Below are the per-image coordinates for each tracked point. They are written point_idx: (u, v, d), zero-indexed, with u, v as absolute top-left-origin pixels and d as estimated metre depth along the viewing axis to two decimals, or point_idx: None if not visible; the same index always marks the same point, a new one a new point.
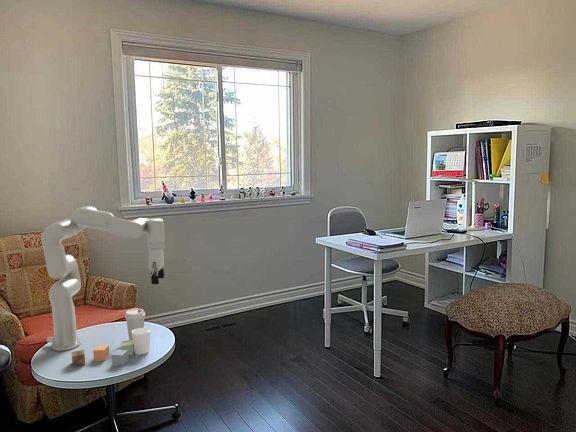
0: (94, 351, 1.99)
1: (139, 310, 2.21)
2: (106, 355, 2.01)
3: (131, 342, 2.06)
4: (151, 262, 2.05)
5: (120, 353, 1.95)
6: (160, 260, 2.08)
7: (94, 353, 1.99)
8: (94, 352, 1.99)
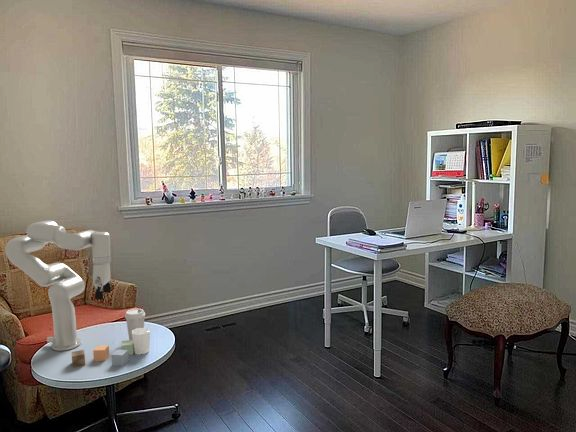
0: (94, 351, 1.99)
1: (139, 310, 2.21)
2: (106, 355, 2.01)
3: (131, 342, 2.06)
4: (95, 277, 2.00)
5: (120, 353, 1.95)
6: (105, 275, 2.02)
7: (94, 353, 1.99)
8: (94, 352, 1.99)
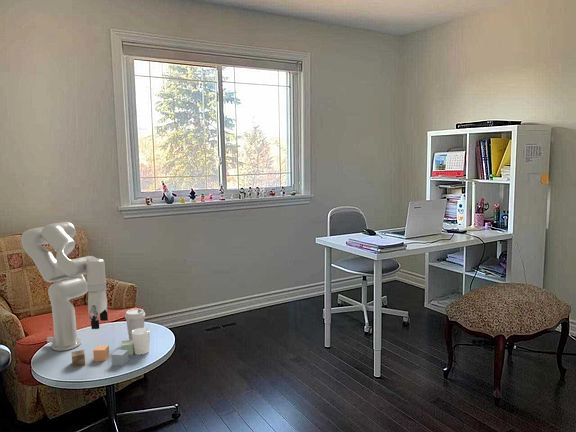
0: (94, 351, 1.99)
1: (139, 310, 2.21)
2: (106, 355, 2.01)
3: (131, 342, 2.06)
4: (90, 306, 1.93)
5: (120, 353, 1.95)
6: (101, 303, 1.95)
7: (94, 353, 1.99)
8: (94, 352, 1.99)
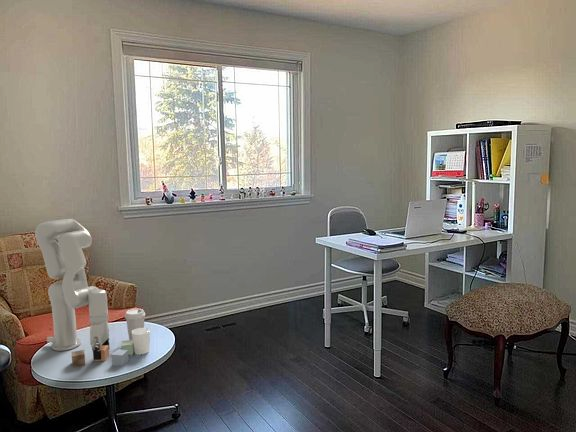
0: None
1: (139, 310, 2.21)
2: (106, 355, 2.01)
3: (131, 342, 2.06)
4: (92, 337, 1.95)
5: (120, 353, 1.95)
6: (103, 334, 1.97)
7: None
8: None
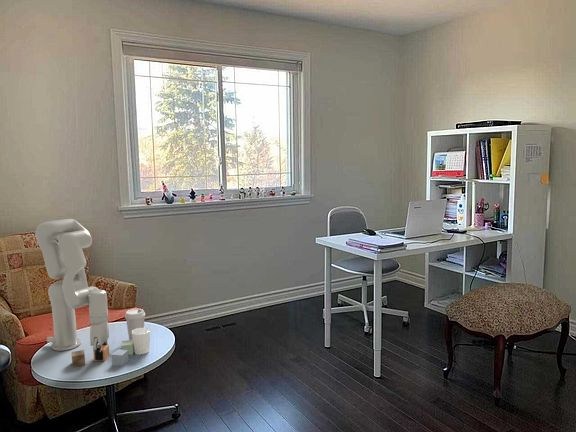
0: None
1: (139, 310, 2.21)
2: (106, 355, 2.01)
3: (131, 342, 2.06)
4: (92, 337, 1.95)
5: (120, 353, 1.95)
6: (103, 334, 1.97)
7: (94, 353, 1.99)
8: (94, 352, 1.99)
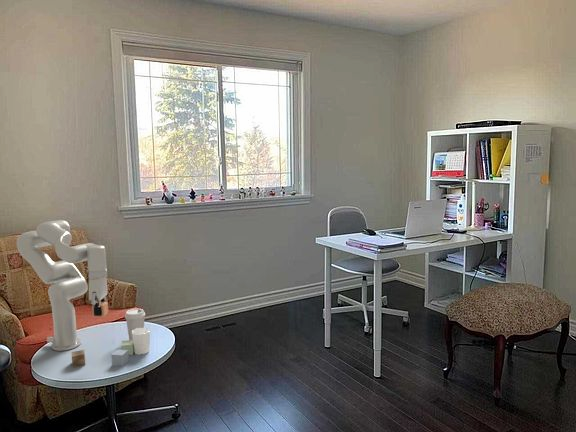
0: None
1: (139, 310, 2.21)
2: (105, 311, 2.00)
3: (131, 342, 2.06)
4: (91, 292, 1.94)
5: (120, 353, 1.95)
6: (101, 289, 1.97)
7: (93, 308, 1.98)
8: None
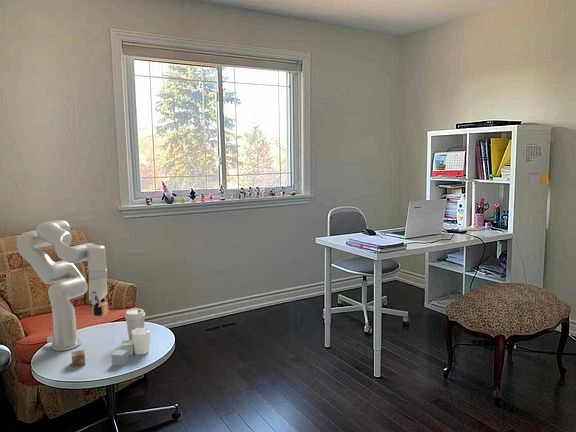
0: None
1: (139, 310, 2.21)
2: (105, 311, 2.00)
3: (131, 342, 2.06)
4: (91, 292, 1.94)
5: (120, 353, 1.95)
6: (101, 289, 1.97)
7: (93, 308, 1.98)
8: None
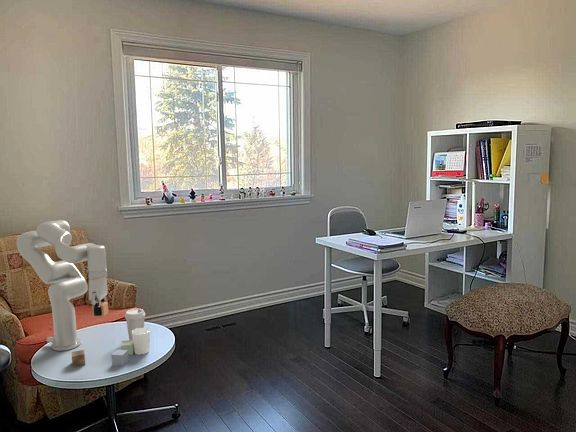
0: None
1: (139, 310, 2.21)
2: (105, 311, 2.00)
3: (131, 342, 2.06)
4: (91, 292, 1.94)
5: (120, 353, 1.95)
6: (101, 289, 1.97)
7: (93, 308, 1.98)
8: None
